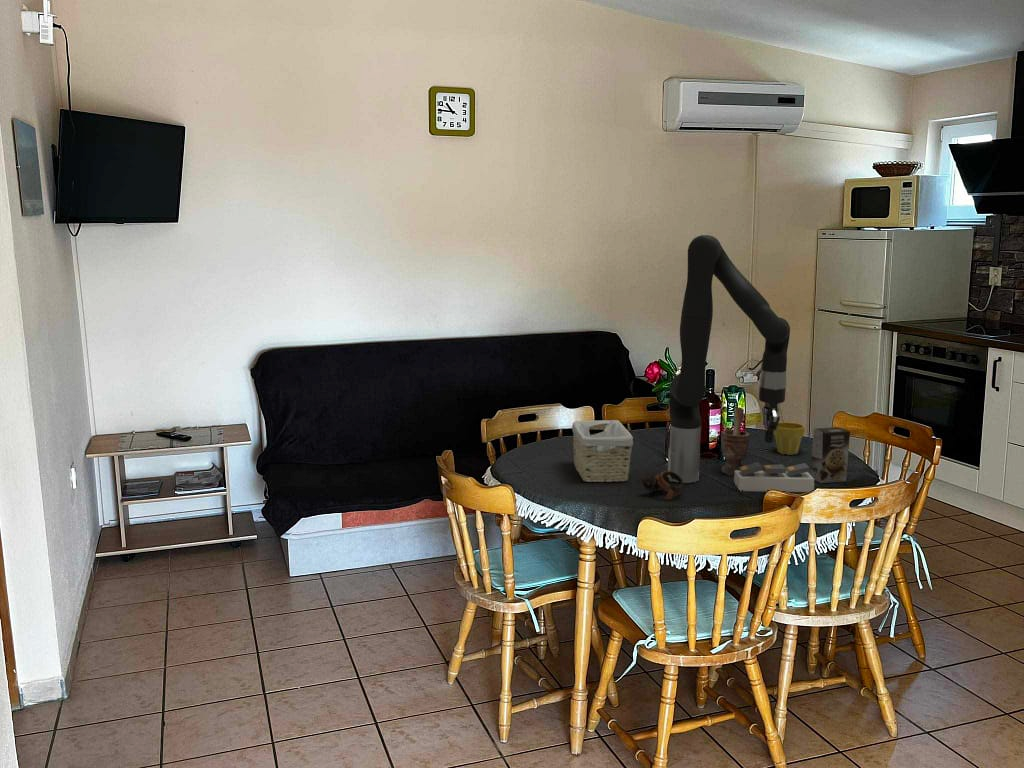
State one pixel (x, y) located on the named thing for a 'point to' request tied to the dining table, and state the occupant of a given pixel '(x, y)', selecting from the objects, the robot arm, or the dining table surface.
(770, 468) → the rocker
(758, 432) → the dining table surface
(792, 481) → the power strip
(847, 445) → the brown cookie box
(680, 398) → the robot arm
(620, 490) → the dining table surface
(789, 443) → the plant pot
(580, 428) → the storage basket
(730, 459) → the mortar and pestle
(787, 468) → the rocker
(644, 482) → the brown looped piece
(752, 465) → the rocker
